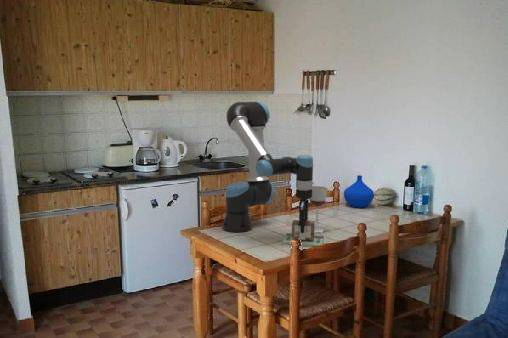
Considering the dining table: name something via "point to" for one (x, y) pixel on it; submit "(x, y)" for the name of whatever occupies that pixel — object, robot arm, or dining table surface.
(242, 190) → the robot arm
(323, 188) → the wineglass
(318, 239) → the ledge board
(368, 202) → the vase
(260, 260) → the dining table surface
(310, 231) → the frame
